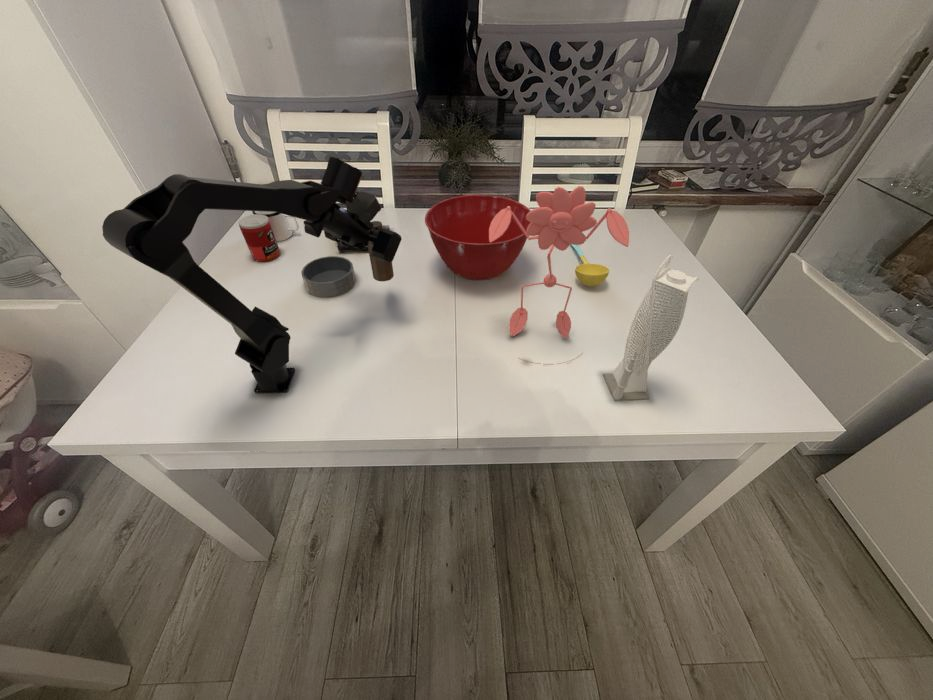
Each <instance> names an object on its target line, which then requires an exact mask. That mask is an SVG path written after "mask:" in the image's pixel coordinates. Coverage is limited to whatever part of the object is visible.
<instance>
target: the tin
mask: <svg viewBox="0 0 933 700" xmlns="http://www.w3.org/2000/svg"><path fill="white" fill-rule="evenodd" d="M301 278H302V281H303V283H304V287H305V289H306V292H307V293H309V295H312V296H313V297H316V298H322V299H330V298H336V297H340V296H342V295H345V294H347V293H349V292H350V291H351V290H352V289H353V288H354V287H355V285H356V283H357V278H356V272H355V268H354V264H353V262H352V261H351V260H350V259H349V258H346V257H343V256H337V255H328V256H322V257H319V258H315V259H313V260H311V261H309V262H308V263H306V264H305V265H304V266H303V267H302V269H301Z"/></svg>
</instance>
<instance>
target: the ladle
mask: <svg viewBox="0 0 933 700" xmlns="http://www.w3.org/2000/svg"><path fill="white" fill-rule="evenodd" d="M570 245H571V247H573V249H574V250H575V252H576V253H577V255H578V257H579V258H580V259H581V261H582V263H581V264H578V265H576V266H575V268H574V274H575V277H576V279H577V280H578V281H579V282H580V283H581V284H582V285H584V286H586V287H594V286H599V285H600V284H602V283H603V282H604V281H605V280H606V279H607V278H608V276H609V274H610V271H611V270H610V268H609V267H607V266H605V265H603V264H599V263H598V264H597V263H589V262H588V260H587V258H586V257H585V255H584V253H583V251H582V249H581V248H580V247H579V245H573V244H570Z"/></svg>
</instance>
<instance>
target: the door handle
mask: <svg viewBox="0 0 933 700" xmlns="http://www.w3.org/2000/svg"><path fill="white" fill-rule="evenodd" d="M382 226H385V227H386V228H387V229H388V230H391V229H390V228H391V227H390V225H389V224H386V225H385V224H382ZM336 248H337V250H338V251H339V252H341V253H344V252H353V251H354V252H369V251H368V248H362V250H360V249H358V248H353V247H348V246H345V245H343V244H342V241H341V240H340V242H339V243H337V242H336Z"/></svg>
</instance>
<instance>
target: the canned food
mask: <svg viewBox="0 0 933 700" xmlns="http://www.w3.org/2000/svg"><path fill="white" fill-rule="evenodd" d="M237 224H238V226H239V227H238V228H239V230H240V231H241V234H242V236H243V239H244V241H245V243H246V245H247V248H248V250H249V253H250V255H251V257H252V258H253V259H254V260H255V261H257V262H261V263H265V262H271V261H274V260H277V258H278V257H279V256H280V255H281V250H280V247H279V244H278V242H277V241H276V238H275V235H274V233H273V230H272V227H271V224H270V222H269V219H268V217H267V216H265V215H260V214H249V215H245V216H243V217H241V218H240V219H239V220H238V221H237Z"/></svg>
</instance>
